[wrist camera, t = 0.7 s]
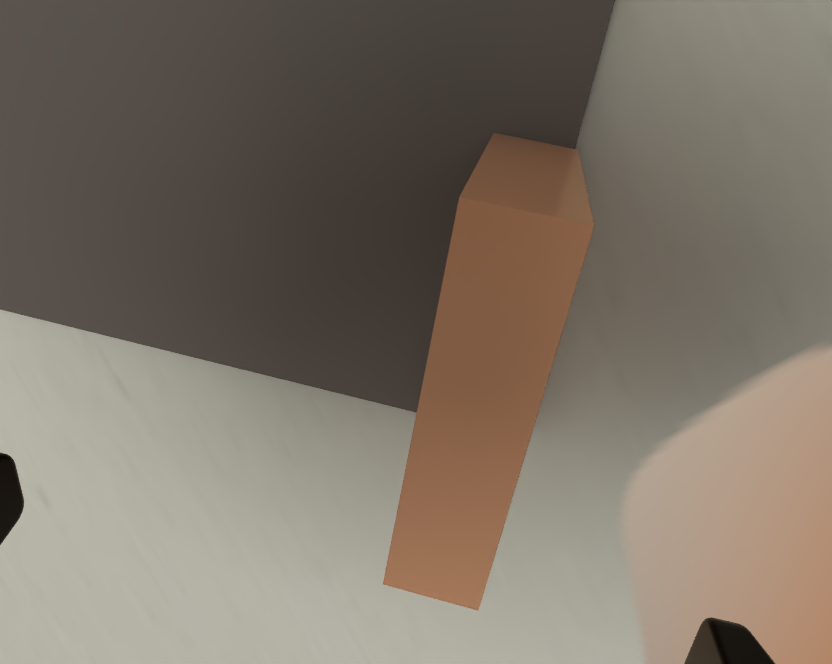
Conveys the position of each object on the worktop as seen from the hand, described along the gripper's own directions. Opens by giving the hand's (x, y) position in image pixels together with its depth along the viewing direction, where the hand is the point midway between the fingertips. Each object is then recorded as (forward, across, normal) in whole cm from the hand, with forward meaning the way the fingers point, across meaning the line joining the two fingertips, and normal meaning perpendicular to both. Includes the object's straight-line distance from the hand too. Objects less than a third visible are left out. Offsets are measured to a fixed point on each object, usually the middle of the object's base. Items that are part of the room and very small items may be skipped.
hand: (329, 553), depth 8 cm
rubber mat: (+12, +7, -2) cm, 14 cm away
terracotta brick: (+12, -1, +1) cm, 12 cm away
